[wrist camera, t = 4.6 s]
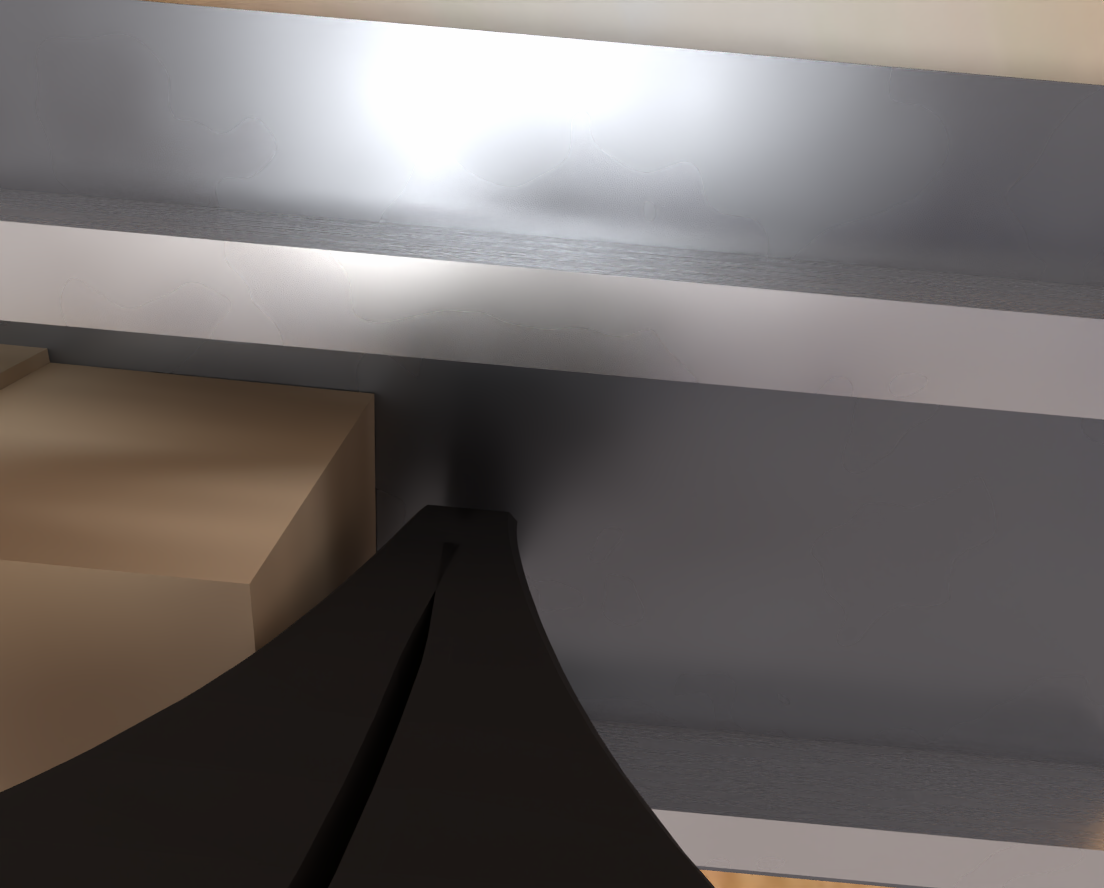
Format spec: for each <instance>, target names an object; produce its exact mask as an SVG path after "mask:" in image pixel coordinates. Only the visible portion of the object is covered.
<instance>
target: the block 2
mask: <svg viewBox="0 0 1104 888" xmlns="http://www.w3.org/2000/svg"><path fill="white" fill-rule="evenodd" d="M375 553H376V507H375V408H374V394H372V393H362V392H352V391H341V390H331V389H320V388H310V387H300V386H289V385H279V384H268V383H258V382H248V381H237V380H227V379H216V378H206V377H196V376H185V375H175V374H164V373H154V372H144V371H133V370H123V369H112V368H102V367H92V366H81V365H71V364H60V363H48V364H46V365H44V366H43V367H41V368H39V369H37V370H35V371H34V372H32V373H30V374H28V375H26V376H25V377H23V378H21V379H19V380H17V381H16V382H14V383H12V384H10V385H9V386H7V387H5V388H3V389H1V390H0V792H2V791H4V790H6V789H9V788H11V787H13V786H15V785H17V784H20V783H22V782H24V781H26V780H28V779H30V778H32V777H35V776H37V775H39V774H41V773H43V772H45V771H47V770H49V769H51V768H53V767H55V766H57V765H59V764H62V763H64V762H66V761H68V760H70V759H72V758H74V757H76V756H78V755H80V754H82V753H84V752H86V751H88V750H90V749H92V748H94V747H96V746H97V745H99V744H101V743H103V742H105V741H107V740H108V739H110V738H112V737H114V736H116V735H118V734H119V733H121V732H123V731H125V730H127V729H128V728H130V727H132V726H134V725H136V724H138V723H139V722H141V721H143V720H145V719H147V718H148V717H150V716H152V715H154V714H156V713H158V712H159V711H161V710H163V709H165V708H167V707H169V706H170V705H172V704H174V703H176V702H178V701H179V700H181V699H183V698H185V697H186V696H188V695H190V694H191V693H193V692H195V691H196V690H198V689H200V688H201V687H203V686H204V685H206V684H208V683H209V682H211V681H212V680H214V679H215V678H217V677H218V676H220V675H222V674H223V673H225V672H226V671H228V670H229V669H231V668H233V667H234V666H236V665H237V664H239V663H240V662H242V661H243V660H245V659H246V658H248V657H249V656H250V655H252V654H253V653H255V652H256V651H257V650H259V649H260V648H262V647H263V646H264V645H266V644H267V643H269V642H270V641H271V640H273V639H274V638H275V637H277V636H278V635H279V634H280V633H282V632H283V631H284V630H286V629H287V628H288V627H289V626H291V625H292V624H293V623H294V622H296V621H297V620H298V619H299V618H301V617H302V616H303V615H305V614H306V613H307V612H308V611H310V610H311V609H312V608H313V607H315V606H316V605H317V604H319V603H320V602H321V601H322V600H323V599H325V598H326V597H327V596H328V595H329V594H331V593H332V592H333V591H334V590H335V589H336V588H337V587H339V586H340V585H341V584H342V583H343V582H344V581H345V580H346V579H348V578H349V577H350V576H351V575H352V574H353V573H354V572H355V571H357V570H358V569H359V568H360V567H361V566H362V565H363V564H364V563H366V562H367V561H368V560H369V559H370V558H371V557H372V556H373V555H374V554H375Z"/></svg>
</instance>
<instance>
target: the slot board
mask: <svg viewBox="0 0 1104 888" xmlns="http://www.w3.org/2000/svg"><path fill="white" fill-rule="evenodd" d="M0 344H7V345H17V346H28V347H38V348H47V350H48V355H49V360H50V363H60V364H71V365H81V366H92V367H102V368H112V369H123V370H133V371H144V372H154V373H164V374H175V375H185V376H196V377H206V378H216V379H227V380H237V381H248V382H258V383H268V384H279V385H289V386H300V387H310V388H320V389H331V390H341V391H352V392H362V393H372V394H374V408H375V507H376V552H377V551H378V550H379V549H380V548H382V547H383V546H384V545H385V544H386V543H387V542H388V541H389V540H390V539H391V538H392V537H393V536H394V535H395V534H396V533H397V532H398V531H399V530H400V529H401V528H402V527H403V526H404V525H405V524H406V523H407V522H408V521H409V520H410V519H411V518H412V517H413V516H414V515H415V514H416V513H417V512H418V511H420V510H421V509H422V508H424V507H425V506H426V505H438V506H449V507H460V508H471V509H482V510H493V511H504V512H510V514H511V515H512V516H513V517H514V518H515V519H516V520H517V542H518V548H519V553H520V558H521V562H522V566H523V570H524V574H525V577H526V580H527V583H528V587H529V590H530V592H531V595H532V598H533V601H534V603H535V606H536V609H537V612H538V614H539V617H540V620H541V622H542V625H543V627H544V630H545V632H546V634H547V637H548V639H549V641H550V644H551V646H552V648H553V650H554V652H555V654H556V656H557V658H558V661H559V663H560V665H561V667H562V669H563V671H564V673H565V675H566V677H567V679H568V681H569V683H570V685H571V687H572V689H573V690H574V692H575V694H576V696H577V698H578V700H579V702H580V703H581V705H582V707H583V708H584V710H585V712H586V714H587V715H588V717H589V719H590V720H591V722H592V724H593V725H594V727H595V729H596V730H597V732H598V734H599V735H600V737H601V738H602V740H603V741H604V743H605V745H606V746H607V748H608V749H609V751H610V752H611V754H612V755H613V757H614V758H615V760H616V761H617V763H618V764H619V766H620V767H621V769H622V771H623V772H624V773H625V775H626V776H627V778H628V779H629V780H630V782H631V783H632V784H633V786H634V787H635V788H636V790H637V791H638V792H639V794H640V795H641V796H642V797H643V799H644V800H645V801H646V803H647V804H648V805H649V807H650V808H651V809H652V811H653V812H654V813H655V815H656V816H657V817H658V819H659V820H660V821H661V822H662V824H663V825H664V826H665V828H666V829H667V830H668V832H669V833H670V834H671V836H672V837H673V838H674V840H675V841H676V842H677V843H678V845H679V846H680V847H681V849H682V850H683V851H684V853H685V854H686V855H687V856H688V857H689V858H690V859H691V861H692V862H693V863H694V864H695V865H696V866H697V868H698V869H701V870H712V871H723V872H734V873H745V874H755V875H766V876H777V877H788V878H799V879H810V880H820V881H831V882H842V883H853V884H864V885H875V886H885V887H896V888H1104V86H1103V85H1091V84H1080V83H1069V82H1057V81H1046V80H1035V79H1023V78H1012V77H1001V76H989V75H978V74H967V73H955V72H944V71H933V70H921V69H910V68H899V67H887V66H876V65H865V64H853V63H842V62H831V61H819V60H808V59H797V58H785V57H774V56H763V55H751V54H740V53H729V52H717V51H706V50H695V49H683V48H672V47H661V46H649V45H638V44H627V43H615V42H604V41H593V40H581V39H570V38H559V37H547V36H536V35H525V34H513V33H502V32H491V31H479V30H468V29H457V28H445V27H434V26H423V25H411V24H400V23H389V22H377V21H366V20H355V19H343V18H332V17H321V16H309V15H298V14H287V13H275V12H264V11H253V10H241V9H230V8H219V7H207V6H196V5H185V4H173V3H162V2H151V1H139V0H0Z"/></svg>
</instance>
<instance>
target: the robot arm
mask: <svg viewBox="0 0 1104 888" xmlns="http://www.w3.org/2000/svg"><path fill="white" fill-rule="evenodd" d="M0 888H715V887H714V886H713V885H712V884H711V883H710V882H709V880H708V879H707V878H706V877H705V876H704V875H703V873H702V872H701V871H700V870H699V869H698V868H697V866H696V865H695V864H694V863H693V862H692V861H691V859H690V858H689V857H688V856H687V855H686V854H685V853H684V851H683V850H682V849H681V847H680V846H679V845H678V843H677V842H676V841H675V840H674V838H673V837H672V836H671V834H670V833H669V832H668V830H667V829H666V828H665V826H664V825H663V824H662V822H661V821H660V820H659V819H658V817H657V816H656V815H655V813H654V812H653V811H652V809H651V808H650V807H649V805H648V804H647V803H646V801H645V800H644V799H643V797H642V796H641V795H640V794H639V792H638V791H637V790H636V788H635V787H634V786H633V784H632V783H631V782H630V780H629V779H628V778H627V776H626V775H625V773H624V772H623V771H622V769H621V767H620V766H619V764H618V763H617V761H616V760H615V758H614V757H613V755H612V754H611V752H610V751H609V749H608V748H607V746H606V745H605V743H604V741H603V740H602V738H601V737H600V735H599V734H598V732H597V730H596V729H595V727H594V725H593V724H592V722H591V720H590V719H589V717H588V715H587V714H586V712H585V710H584V708H583V707H582V705H581V703H580V702H579V700H578V698H577V696H576V694H575V692H574V690H573V689H572V687H571V685H570V683H569V681H568V679H567V677H566V675H565V673H564V671H563V669H562V667H561V665H560V663H559V661H558V658H557V656H556V654H555V652H554V650H553V648H552V646H551V644H550V641H549V639H548V637H547V634H546V632H545V630H544V627H543V625H542V622H541V620H540V617H539V614H538V612H537V609H536V606H535V603H534V601H533V598H532V595H531V592H530V590H529V587H528V583H527V580H526V577H525V574H524V570H523V566H522V562H521V558H520V553H519V548H518V542H517V520H516V519H515V518H514V517H513V516H512V515H511V514H510V512H504V511H493V510H482V509H471V508H460V507H449V506H438V505H426V506H425V507H424V508H422V509H421V510H420V511H418V512H417V513H416V514H415V515H414V516H413V517H412V518H411V519H410V520H409V521H408V522H407V523H406V524H405V525H404V526H403V527H402V528H401V529H400V530H399V531H398V532H397V533H396V534H395V535H394V536H393V537H392V538H391V539H390V540H389V541H388V542H387V543H386V544H385V545H384V546H383V547H382V548H380V549H379V550H378V551H377V552H376V553H375V554H374V555H373V556H372V557H371V558H370V559H369V560H368V561H367V562H366V563H364V564H363V565H362V566H361V567H360V568H359V569H358V570H357V571H355V572H354V573H353V574H352V575H351V576H350V577H349V578H348V579H346V580H345V581H344V582H343V583H342V584H341V585H340V586H339V587H337V588H336V589H335V590H334V591H333V592H332V593H331V594H329V595H328V596H327V597H326V598H325V599H323V600H322V601H321V602H320V603H319V604H317V605H316V606H315V607H313V608H312V609H311V610H310V611H308V612H307V613H306V614H305V615H303V616H302V617H301V618H299V619H298V620H297V621H296V622H294V623H293V624H292V625H291V626H289V627H288V628H287V629H286V630H284V631H283V632H282V633H280V634H279V635H278V636H277V637H275V638H274V639H273V640H271V641H270V642H269V643H267V644H266V645H264V646H263V647H262V648H260V649H259V650H257V651H256V652H255V653H253V654H252V655H250V656H249V657H248V658H246V659H245V660H243V661H242V662H240V663H239V664H237V665H236V666H234V667H233V668H231V669H229V670H228V671H226V672H225V673H223V674H222V675H220V676H218V677H217V678H215V679H214V680H212V681H211V682H209V683H208V684H206V685H204V686H203V687H201V688H200V689H198V690H196V691H195V692H193V693H191V694H190V695H188V696H186V697H185V698H183V699H181V700H179V701H178V702H176V703H174V704H172V705H170V706H169V707H167V708H165V709H163V710H161V711H159V712H158V713H156V714H154V715H152V716H150V717H148V718H147V719H145V720H143V721H141V722H139V723H138V724H136V725H134V726H132V727H130V728H128V729H127V730H125V731H123V732H121V733H119V734H118V735H116V736H114V737H112V738H110V739H108V740H107V741H105V742H103V743H101V744H99V745H97V746H96V747H94V748H92V749H90V750H88V751H86V752H84V753H82V754H80V755H78V756H76V757H74V758H72V759H70V760H68V761H66V762H64V763H62V764H59V765H57V766H55V767H53V768H51V769H49V770H47V771H45V772H43V773H41V774H39V775H37V776H35V777H32V778H30V779H28V780H26V781H24V782H22V783H20V784H17V785H15V786H13V787H11V788H9V789H6V790H4V791H2V792H0Z"/></svg>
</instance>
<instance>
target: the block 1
mask: <svg viewBox="0 0 1104 888" xmlns="http://www.w3.org/2000/svg"><path fill="white" fill-rule="evenodd" d="M48 363H50V360H49V355H48V350H47V348H38V347H28V346H17V345H7V344H0V390H1V389H3V388H5V387H7V386H9V385H10V384H12V383H14V382H16V381H17V380H19V379H21V378H23V377H25V376H26V375H28V374H30V373H32V372H34V371H35V370H37V369H39V368H41V367H43V366H44V365H46V364H48Z"/></svg>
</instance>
